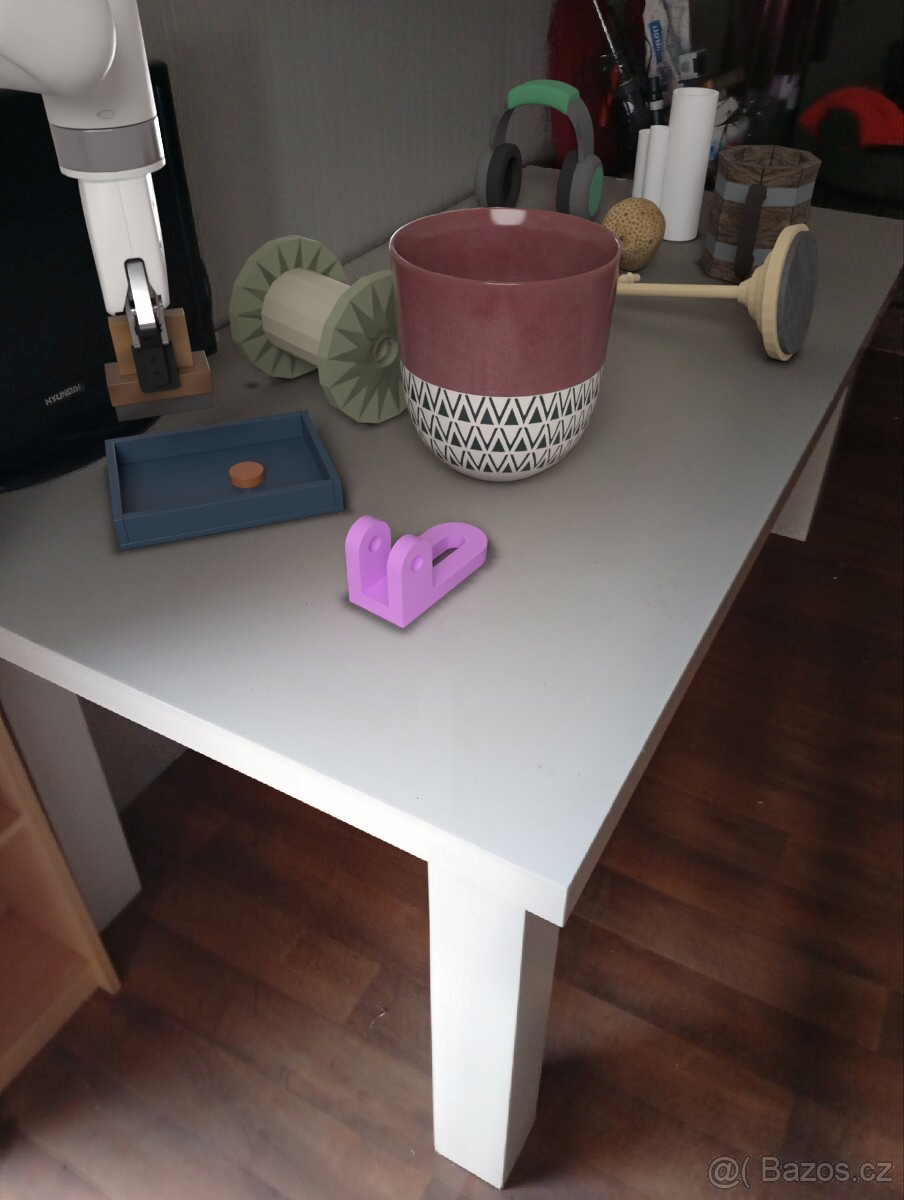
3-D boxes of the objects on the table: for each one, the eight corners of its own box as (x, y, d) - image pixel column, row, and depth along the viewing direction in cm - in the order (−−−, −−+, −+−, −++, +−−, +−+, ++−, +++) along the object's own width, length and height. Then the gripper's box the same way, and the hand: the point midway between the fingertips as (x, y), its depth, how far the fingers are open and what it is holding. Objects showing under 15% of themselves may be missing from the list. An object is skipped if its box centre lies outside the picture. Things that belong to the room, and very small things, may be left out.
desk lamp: (828, 214, 111) (530, 219, 132) (729, 259, 86) (380, 256, 107) (816, 342, 118) (534, 328, 139) (720, 419, 93) (393, 387, 114)
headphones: (602, 218, 155) (616, 80, 143) (581, 237, 147) (594, 93, 135) (495, 204, 161) (499, 71, 149) (469, 222, 153) (471, 83, 141)
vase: (702, 231, 150) (724, 89, 137) (687, 244, 145) (710, 98, 132) (633, 220, 154) (650, 82, 142) (618, 233, 149) (633, 90, 137)
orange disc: (233, 490, 88) (231, 481, 87) (228, 473, 90) (226, 464, 90) (267, 484, 89) (266, 475, 88) (261, 468, 91) (260, 459, 90)
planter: (498, 400, 104) (505, 194, 90) (639, 467, 92) (671, 244, 79) (357, 460, 93) (342, 238, 80) (496, 545, 82) (505, 303, 69)
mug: (707, 248, 143) (725, 140, 134) (800, 259, 140) (825, 149, 130) (684, 292, 129) (702, 175, 120) (786, 306, 125) (814, 186, 116)
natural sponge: (614, 285, 131) (622, 210, 125) (583, 265, 138) (590, 192, 131) (670, 277, 134) (681, 203, 128) (638, 257, 140) (646, 186, 134)
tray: (121, 550, 81) (113, 520, 79) (111, 468, 92) (104, 439, 90) (344, 510, 86) (341, 481, 84) (310, 436, 97) (307, 409, 95)
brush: (116, 423, 80) (93, 332, 75) (113, 400, 83) (91, 312, 78) (217, 408, 82) (201, 319, 77) (210, 386, 85) (195, 299, 80)
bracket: (403, 628, 73) (400, 555, 69) (349, 601, 76) (343, 528, 72) (499, 550, 81) (502, 480, 77) (448, 528, 84) (448, 459, 80)
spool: (440, 396, 104) (439, 258, 95) (333, 442, 96) (321, 297, 87) (345, 351, 114) (335, 222, 104) (240, 390, 105) (220, 254, 96)
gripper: (54, 123, 75) (107, 343, 86) (57, 180, 62) (118, 429, 74) (151, 116, 77) (191, 332, 88) (173, 170, 64) (216, 414, 76)
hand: (157, 374), depth 81 cm, fingers closed on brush, 4 cm apart
